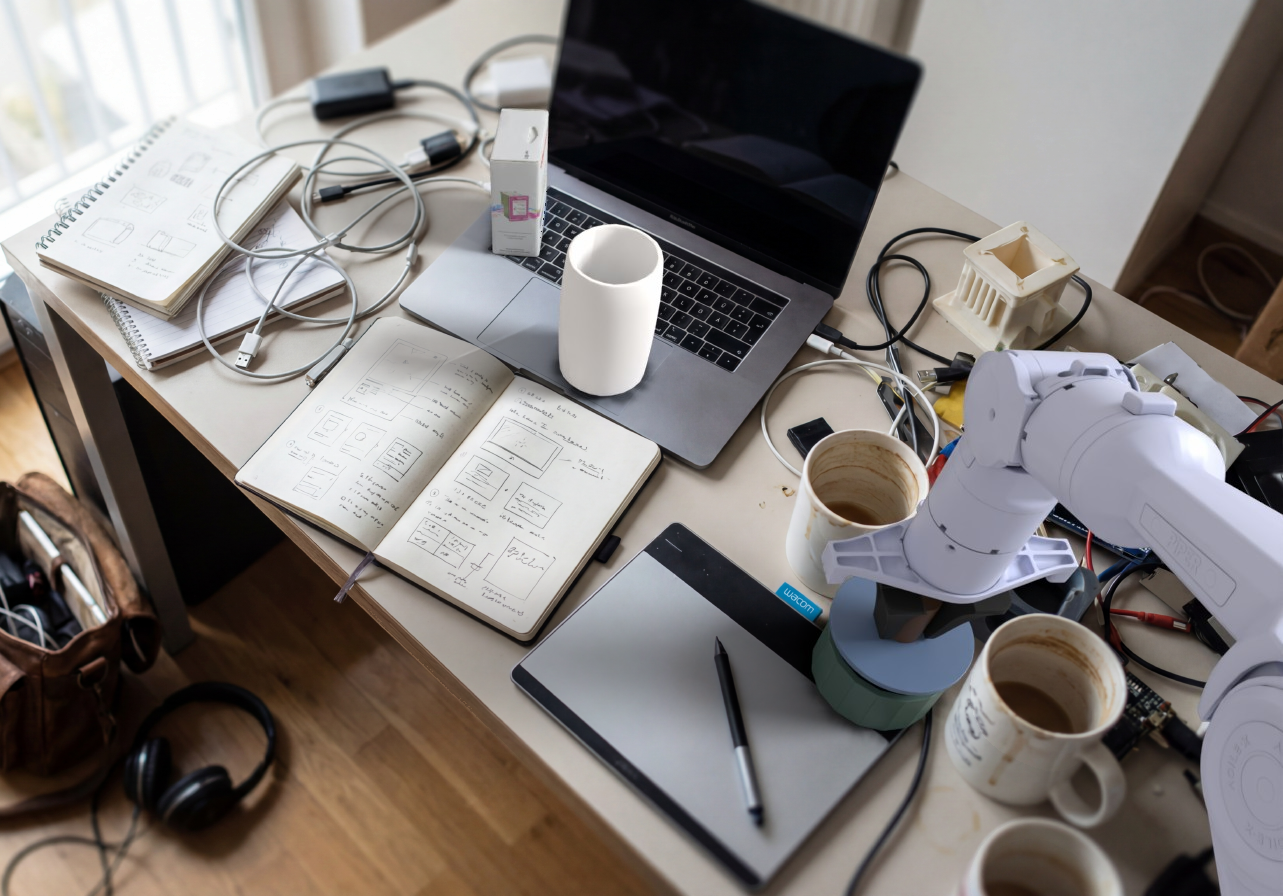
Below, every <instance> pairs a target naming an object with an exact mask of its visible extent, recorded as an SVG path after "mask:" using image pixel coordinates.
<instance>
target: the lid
mask: <svg viewBox="0 0 1283 896" xmlns="http://www.w3.org/2000/svg"><path fill="white" fill-rule="evenodd" d="M922 598H923V601H924V605H925V608H926V611H927V614H928V615H920V616H917V617H915V618H913V619H911V620H910V621H909V622H907V623H906V624H905V625H904V626H903V628H902V629H901V630H900V632H899V633H898V634H897V635H896V636H895V637H894V638H892V639H880V638H879V635H878V631H877V627H876V623H875V620H874V616H873V612H874V607H875V602H876V581H872V580H869V579H865V578H861V577H857V576H851V577H850V578H849V579H848V578H847V579H846V580H845V581H844V583H843V584H841V585H840V587H839V588H838V589H837V591H836V593H835V594H834V597H833V599H832V601H831V604H830V607H829V613H828V621H829V624H830V631H831V634H832V637H833V640H834V642H835V644H836V647H837V649H838V650H839V652H840V653H841V655H842V658H843V660H844V661H845V662H846V664H847V665H848V666H849V667H850V668H851V669H852V670H853V671H855V672H856V673H857V674H858V675H860V676H861V677H863V679H865V680H867V681H868V682H869V683H872V684H874V685H875V686H877V687H879V688H881V689H884V690H885V691H886V690H887V691H888V692H891V693H895V694H899V695H929V694H934V693H938V692H941V691H944V690H945V691H946V690H948V689H949V688H951V687H953V686H954V685H956V684H957V683H958V682H959V681H960V680H961V678H963V677H964V676H965V675H966V673H967V671H968V670H969V668H970V667H971V664H972V661H973V658H974V655H975V638H974V637H975V636H974V632H973V628H972V625H971V623H970V621H969V622H966V623H964V624H962V625H960V626H958V627H956V628H954V629H952V630H950V631H948V632H947V633H945V634H943V635H941V636H939V637H937V638H935V639H925V638H924V634H923V631H924V629H925V628H926V627H927V625H928V624H929V622H930V621H931V620H932V618H933V617H934V615H935V614H936V612H937V611H938V610H939V608H940V607H941V605H942V603H943V600H939V599H936V598H932V597H929V596H925V595H922ZM945 691H944V692H945Z"/></svg>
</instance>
